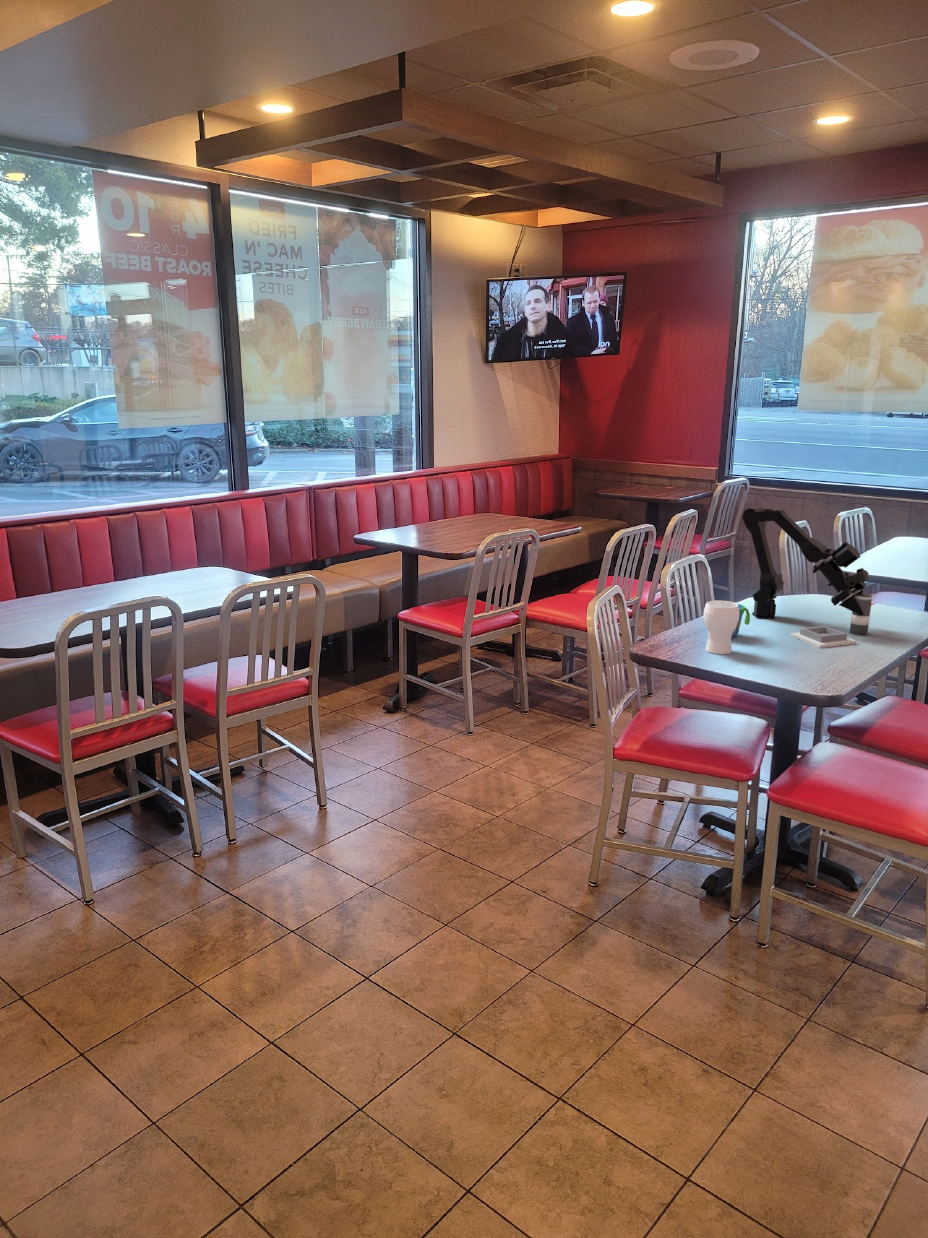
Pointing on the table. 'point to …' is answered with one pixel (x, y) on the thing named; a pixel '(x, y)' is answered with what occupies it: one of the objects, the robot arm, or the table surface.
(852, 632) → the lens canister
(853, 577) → the robot arm
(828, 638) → the square framed plate
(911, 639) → the table surface
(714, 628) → the cup
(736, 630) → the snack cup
